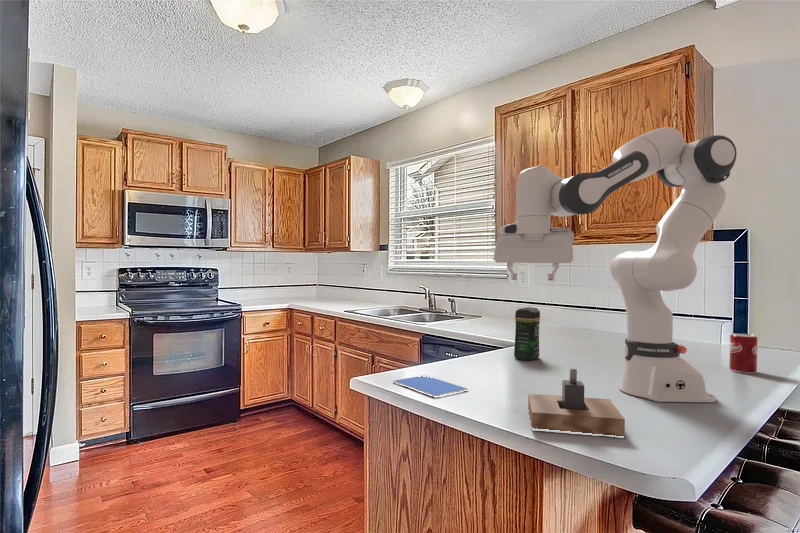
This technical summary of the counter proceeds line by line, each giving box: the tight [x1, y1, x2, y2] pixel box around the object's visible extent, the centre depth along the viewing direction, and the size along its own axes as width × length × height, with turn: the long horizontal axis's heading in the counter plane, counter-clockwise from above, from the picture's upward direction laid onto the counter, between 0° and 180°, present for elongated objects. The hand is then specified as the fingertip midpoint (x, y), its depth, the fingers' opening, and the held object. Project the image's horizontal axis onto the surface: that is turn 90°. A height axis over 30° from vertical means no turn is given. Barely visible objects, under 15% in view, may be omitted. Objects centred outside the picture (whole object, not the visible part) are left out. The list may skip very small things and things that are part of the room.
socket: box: [527, 393, 626, 437], centre depth 104 cm, size 18×14×4 cm
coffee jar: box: [513, 306, 541, 361], centre depth 173 cm, size 10×8×19 cm
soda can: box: [729, 332, 759, 375], centre depth 155 cm, size 7×7×12 cm
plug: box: [561, 368, 585, 410], centre depth 104 cm, size 4×4×12 cm
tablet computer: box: [392, 375, 469, 396], centre depth 133 cm, size 19×13×1 cm, turn 36°
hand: (532, 280), depth 126 cm, fingers open, 8 cm apart
